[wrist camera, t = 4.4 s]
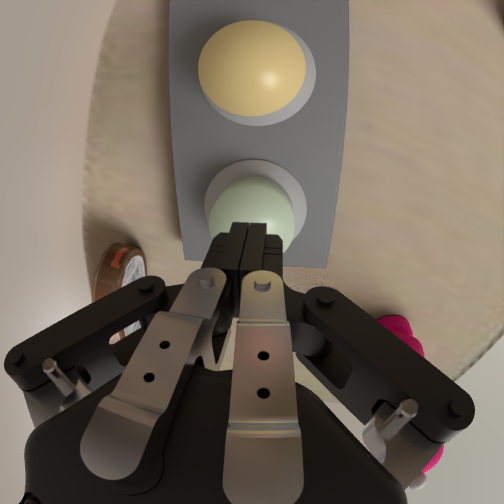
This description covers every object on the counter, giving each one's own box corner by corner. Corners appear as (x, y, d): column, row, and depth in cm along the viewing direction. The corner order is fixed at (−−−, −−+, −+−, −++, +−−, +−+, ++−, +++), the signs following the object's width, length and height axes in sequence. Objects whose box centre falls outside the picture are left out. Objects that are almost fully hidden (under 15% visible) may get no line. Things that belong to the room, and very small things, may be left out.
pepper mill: (354, 353, 33) (371, 502, 16) (361, 315, 29) (392, 493, 12) (404, 346, 32) (436, 485, 15) (418, 308, 28) (470, 467, 11)
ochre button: (302, 31, 12) (306, 22, 10) (300, 115, 15) (303, 118, 13) (208, 31, 13) (198, 23, 11) (209, 113, 16) (199, 117, 14)
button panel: (335, -68, 9) (341, -82, 7) (322, 252, 25) (326, 269, 23) (186, -66, 10) (176, -78, 7) (192, 244, 26) (184, 261, 24)
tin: (123, 226, 26) (78, 277, 19) (151, 232, 26) (110, 288, 19) (134, 325, 34) (109, 376, 27) (155, 332, 34) (134, 384, 27)
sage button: (295, 177, 18) (298, 189, 16) (290, 247, 21) (291, 265, 19) (214, 174, 19) (206, 186, 17) (218, 243, 22) (211, 261, 20)
